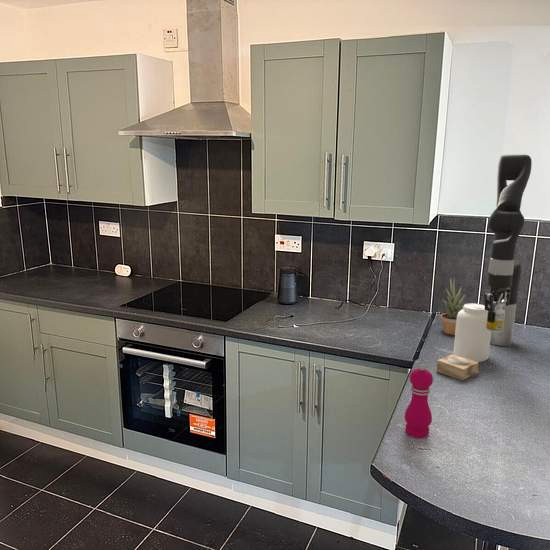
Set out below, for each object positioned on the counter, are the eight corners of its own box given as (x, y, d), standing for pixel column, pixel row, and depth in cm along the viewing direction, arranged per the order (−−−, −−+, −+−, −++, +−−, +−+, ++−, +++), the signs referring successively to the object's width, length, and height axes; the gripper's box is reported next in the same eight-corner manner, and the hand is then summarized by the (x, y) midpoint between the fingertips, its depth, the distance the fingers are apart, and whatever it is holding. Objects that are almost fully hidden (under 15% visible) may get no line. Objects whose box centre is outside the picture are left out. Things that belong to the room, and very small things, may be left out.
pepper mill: (398, 432, 142) (403, 364, 138) (412, 422, 147) (417, 356, 143) (421, 442, 137) (427, 372, 133) (435, 432, 142) (441, 364, 138)
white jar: (494, 357, 196) (500, 306, 191) (477, 365, 188) (483, 312, 183) (463, 347, 205) (468, 299, 200) (446, 355, 197) (451, 305, 192)
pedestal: (452, 364, 189) (453, 353, 188) (477, 373, 181) (479, 361, 180) (436, 370, 183) (437, 359, 182) (462, 380, 175) (463, 368, 174)
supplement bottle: (488, 326, 181) (491, 299, 178) (504, 329, 177) (508, 302, 175) (483, 330, 176) (486, 302, 174) (500, 333, 173) (503, 305, 171)
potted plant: (439, 327, 228) (443, 273, 223) (461, 329, 226) (467, 274, 220) (439, 335, 219) (444, 278, 213) (463, 337, 216) (469, 280, 211)
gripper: (500, 267, 180) (495, 313, 183) (478, 272, 171) (473, 321, 174) (522, 270, 174) (516, 319, 178) (500, 276, 165) (495, 327, 169)
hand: (495, 320), depth 176 cm, fingers closed on supplement bottle, 5 cm apart
